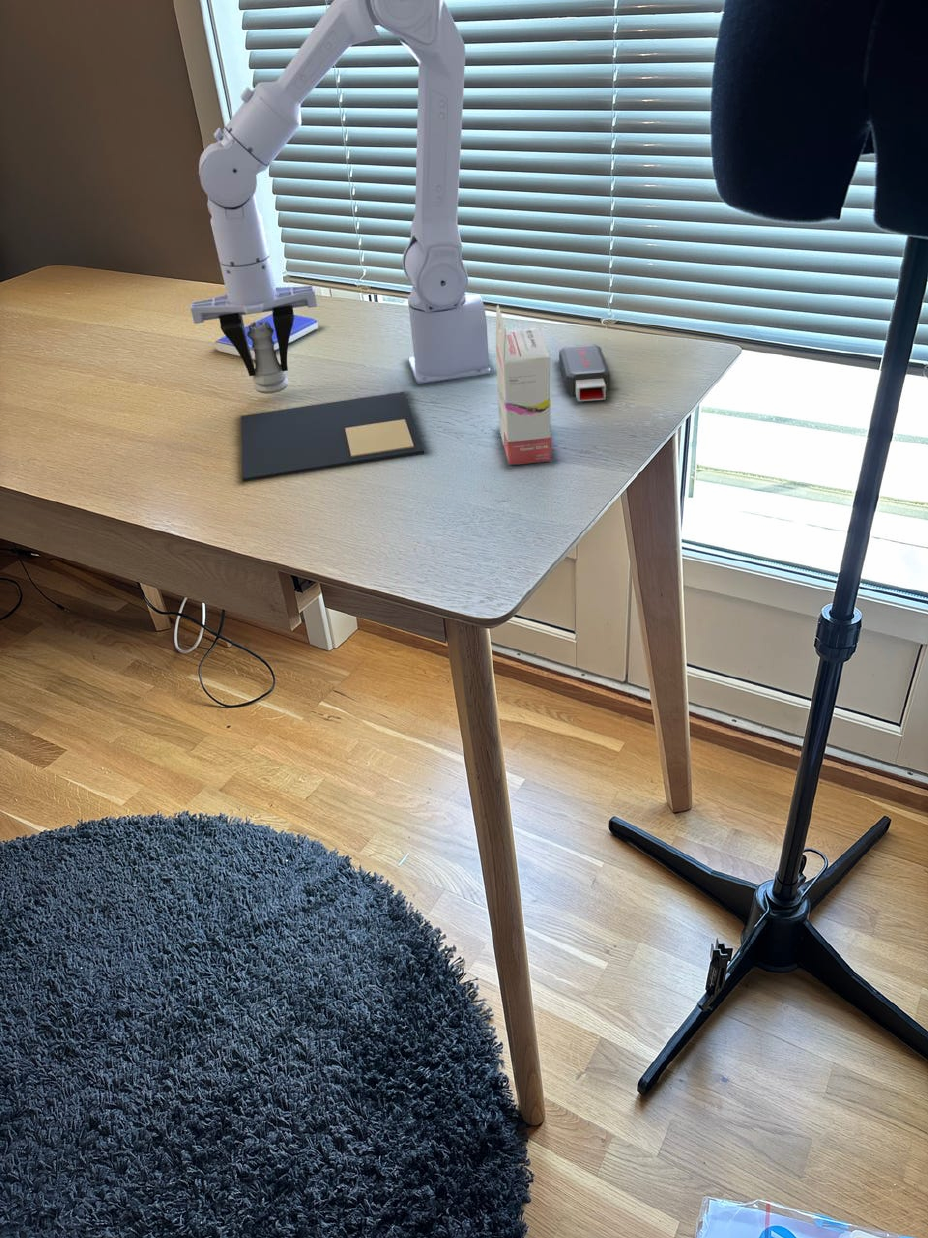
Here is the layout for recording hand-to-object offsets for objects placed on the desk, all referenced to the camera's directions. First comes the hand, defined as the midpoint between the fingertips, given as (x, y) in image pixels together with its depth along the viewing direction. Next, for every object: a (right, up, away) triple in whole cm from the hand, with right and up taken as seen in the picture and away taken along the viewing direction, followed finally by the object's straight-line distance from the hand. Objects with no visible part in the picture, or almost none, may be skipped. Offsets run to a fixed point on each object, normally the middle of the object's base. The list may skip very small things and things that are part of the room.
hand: (268, 370), depth 118 cm
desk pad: (+9, -9, -7) cm, 15 cm away
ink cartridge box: (+31, -12, -13) cm, 36 cm away
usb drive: (+39, -2, -1) cm, 39 cm away
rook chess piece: (0, -2, +2) cm, 2 cm away
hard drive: (-4, +9, +18) cm, 20 cm away
